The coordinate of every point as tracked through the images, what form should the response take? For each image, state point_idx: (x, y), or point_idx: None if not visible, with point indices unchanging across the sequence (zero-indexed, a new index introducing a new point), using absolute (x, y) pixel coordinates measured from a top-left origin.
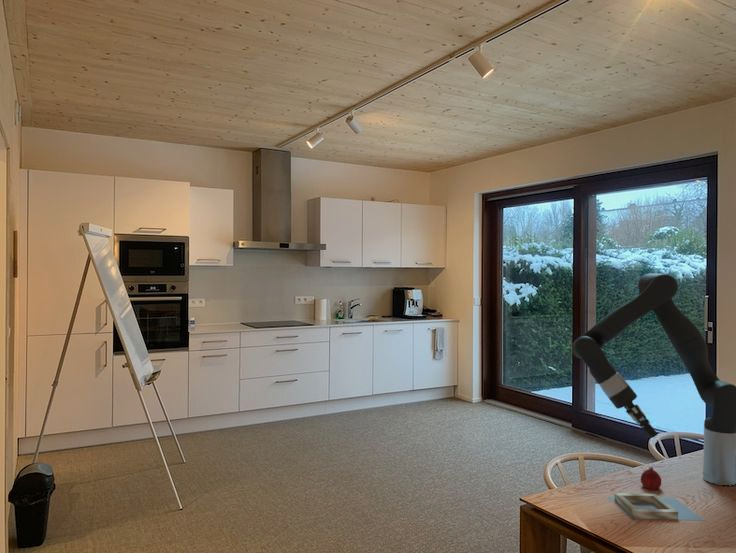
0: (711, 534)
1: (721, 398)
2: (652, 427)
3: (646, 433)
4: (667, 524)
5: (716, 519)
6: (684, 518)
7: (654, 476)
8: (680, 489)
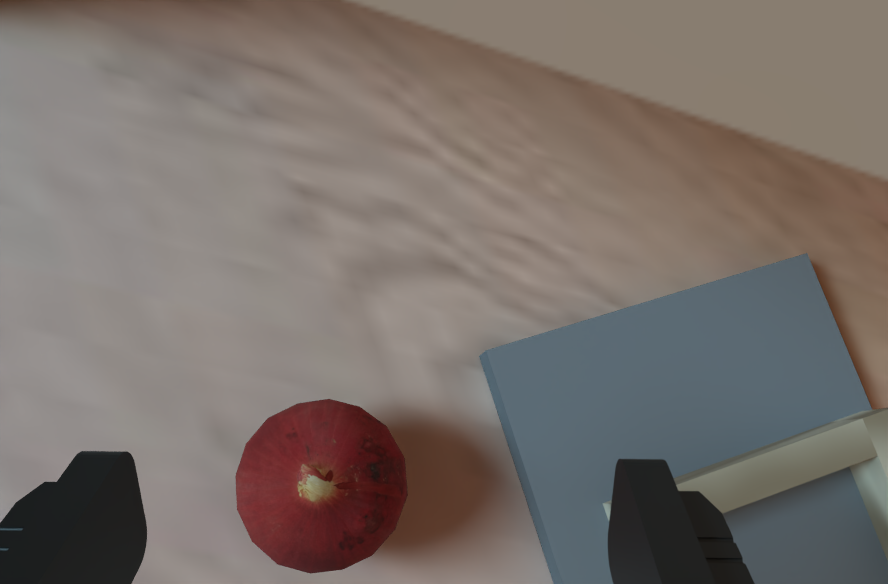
0: (884, 258)
1: None
2: (702, 557)
3: (143, 556)
4: None
5: (660, 166)
6: (832, 368)
7: (387, 466)
8: (189, 244)
